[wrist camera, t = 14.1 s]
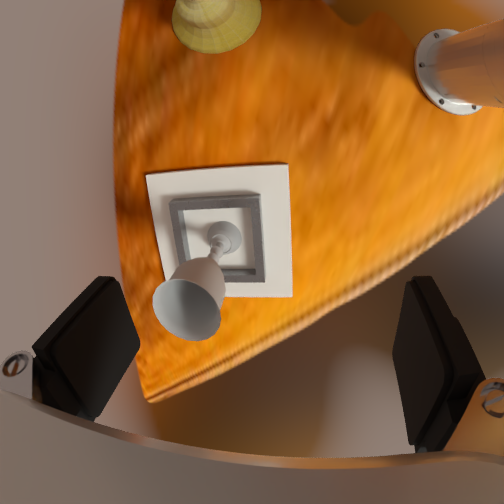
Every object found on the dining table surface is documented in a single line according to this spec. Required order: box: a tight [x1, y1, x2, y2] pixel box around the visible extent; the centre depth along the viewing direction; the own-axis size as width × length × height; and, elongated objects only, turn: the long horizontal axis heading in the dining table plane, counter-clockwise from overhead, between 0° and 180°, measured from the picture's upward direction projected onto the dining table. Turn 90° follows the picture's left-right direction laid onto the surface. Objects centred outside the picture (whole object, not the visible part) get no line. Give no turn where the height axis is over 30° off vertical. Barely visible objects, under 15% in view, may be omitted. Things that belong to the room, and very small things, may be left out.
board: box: [146, 164, 292, 297], centre depth 46 cm, size 20×20×1 cm
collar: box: [168, 194, 266, 283], centre depth 45 cm, size 12×12×2 cm
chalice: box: [153, 221, 242, 341], centre depth 38 cm, size 7×7×18 cm
